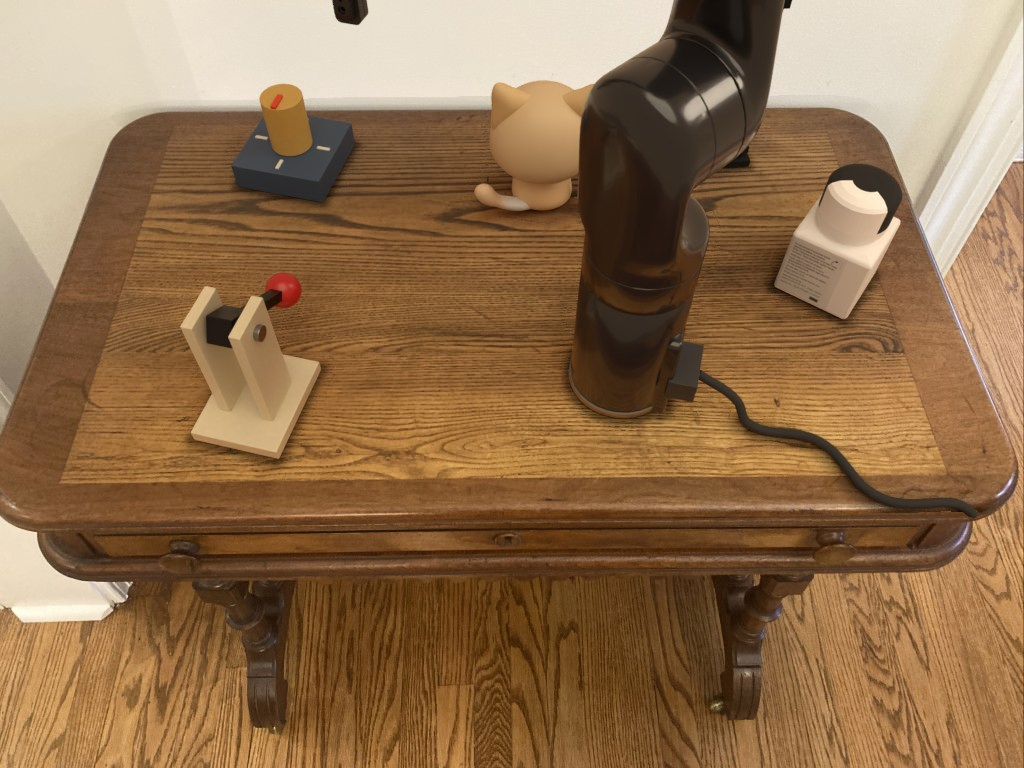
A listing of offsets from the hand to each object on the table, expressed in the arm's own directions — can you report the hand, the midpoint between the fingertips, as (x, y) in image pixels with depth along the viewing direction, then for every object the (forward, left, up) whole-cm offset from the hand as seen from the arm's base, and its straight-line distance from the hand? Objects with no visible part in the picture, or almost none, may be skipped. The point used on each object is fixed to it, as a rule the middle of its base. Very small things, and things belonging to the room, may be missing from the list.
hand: (352, 18), depth 67 cm
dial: (+14, -10, -23) cm, 29 cm away
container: (-44, -7, -26) cm, 51 cm away
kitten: (-14, -12, -26) cm, 32 cm away
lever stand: (+5, +21, -26) cm, 34 cm away
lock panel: (+14, -10, -26) cm, 31 cm away
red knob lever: (+5, +17, -19) cm, 26 cm away
